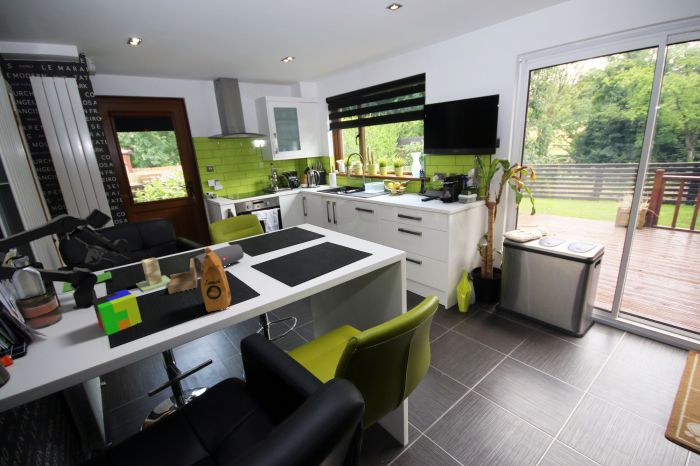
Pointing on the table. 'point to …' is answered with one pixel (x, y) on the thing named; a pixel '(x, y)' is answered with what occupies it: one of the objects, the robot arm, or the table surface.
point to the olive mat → (146, 287)
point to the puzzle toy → (117, 311)
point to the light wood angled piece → (183, 280)
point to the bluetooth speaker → (222, 256)
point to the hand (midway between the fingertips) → (126, 260)
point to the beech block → (152, 271)
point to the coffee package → (214, 283)
